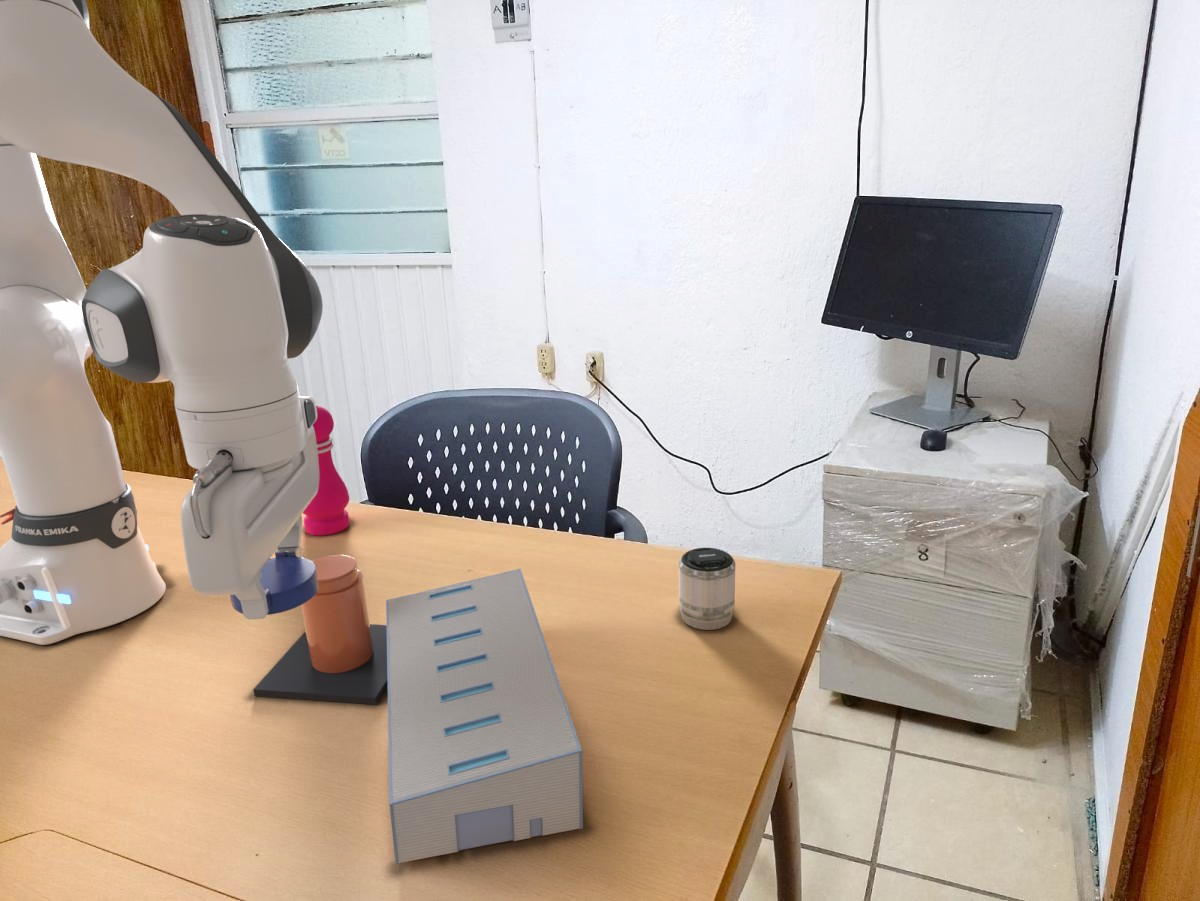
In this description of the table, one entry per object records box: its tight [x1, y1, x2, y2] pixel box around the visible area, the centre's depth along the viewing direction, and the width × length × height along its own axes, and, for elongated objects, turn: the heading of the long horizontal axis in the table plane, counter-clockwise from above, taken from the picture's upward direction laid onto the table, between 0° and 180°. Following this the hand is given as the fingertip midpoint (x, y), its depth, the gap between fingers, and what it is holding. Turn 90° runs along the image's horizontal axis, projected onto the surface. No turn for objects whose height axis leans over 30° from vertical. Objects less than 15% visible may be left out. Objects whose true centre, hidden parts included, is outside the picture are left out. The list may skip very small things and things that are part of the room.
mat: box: [252, 623, 388, 705], centre depth 88 cm, size 13×13×1 cm
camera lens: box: [678, 547, 736, 631], centre depth 93 cm, size 6×6×8 cm
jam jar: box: [300, 554, 373, 673], centre depth 86 cm, size 6×6×11 cm
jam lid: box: [229, 557, 319, 616], centre depth 69 cm, size 7×7×2 cm
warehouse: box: [385, 568, 584, 865], centre depth 76 cm, size 30×14×8 cm, turn 14°
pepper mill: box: [302, 395, 350, 536], centre depth 118 cm, size 7×7×20 cm
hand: (276, 588), depth 69 cm, fingers closed on jam lid, 7 cm apart
